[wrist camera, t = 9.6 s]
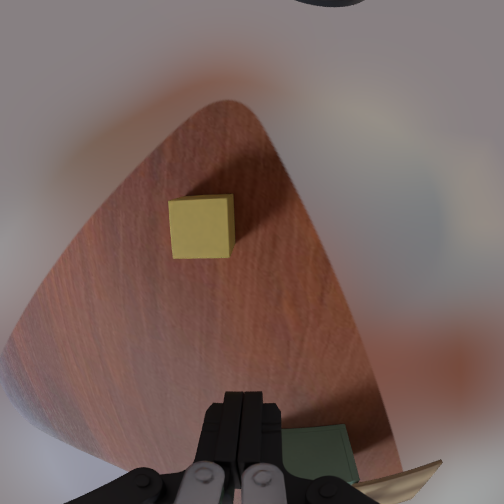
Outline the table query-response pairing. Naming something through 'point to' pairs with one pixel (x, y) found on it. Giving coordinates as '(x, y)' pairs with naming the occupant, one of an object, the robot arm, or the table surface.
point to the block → (202, 226)
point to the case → (319, 453)
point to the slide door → (398, 484)
